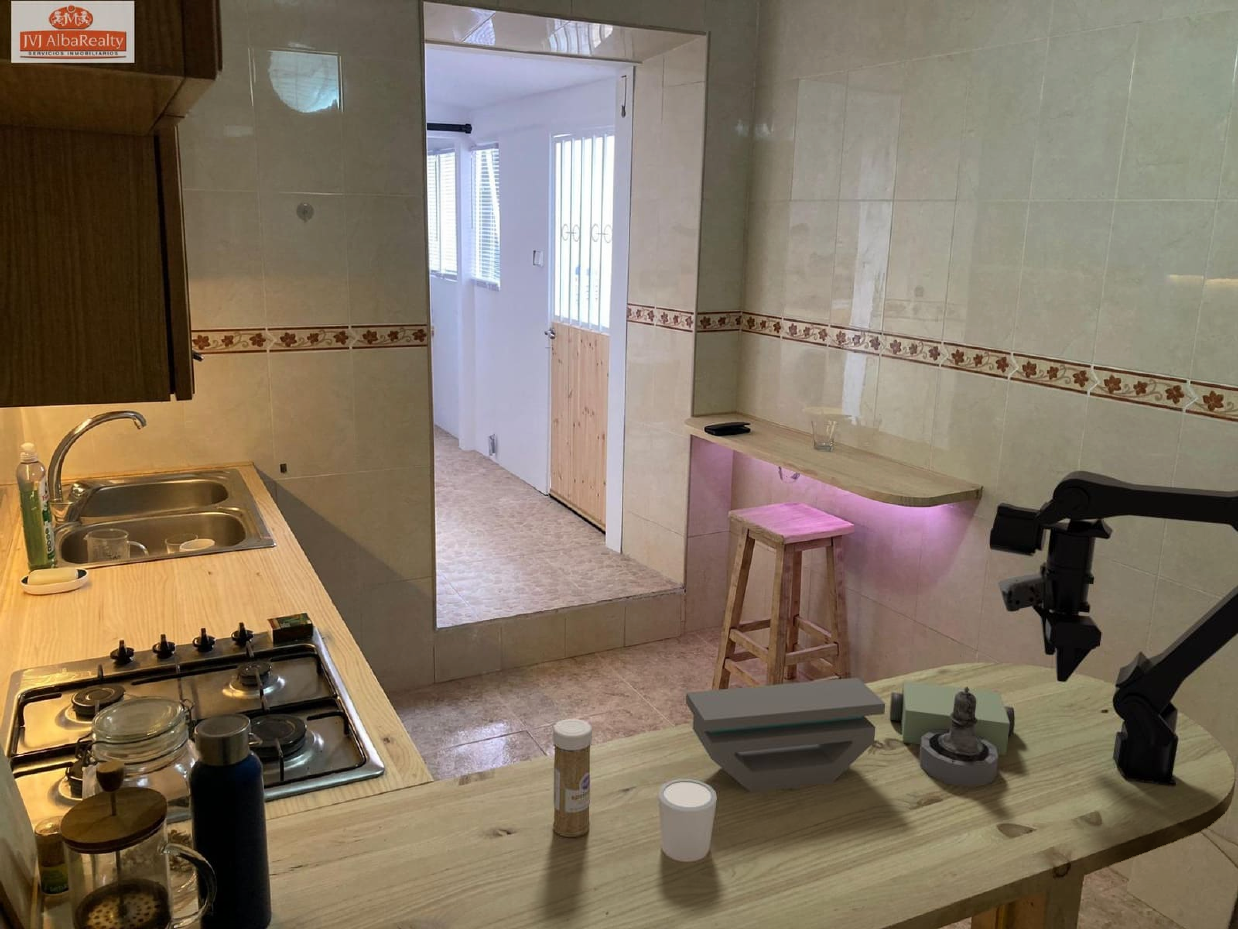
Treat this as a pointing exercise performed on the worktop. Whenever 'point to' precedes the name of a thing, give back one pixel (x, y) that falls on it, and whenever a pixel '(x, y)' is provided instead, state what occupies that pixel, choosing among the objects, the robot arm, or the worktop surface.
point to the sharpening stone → (786, 730)
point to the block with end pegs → (930, 718)
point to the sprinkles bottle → (572, 777)
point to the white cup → (686, 818)
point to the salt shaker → (962, 730)
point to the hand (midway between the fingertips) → (1055, 667)
